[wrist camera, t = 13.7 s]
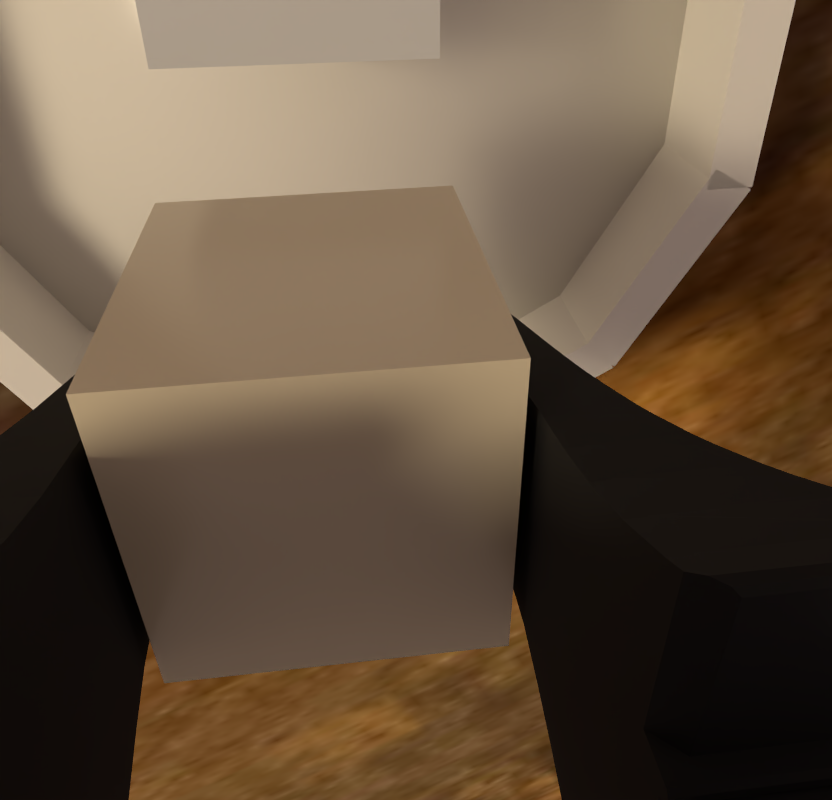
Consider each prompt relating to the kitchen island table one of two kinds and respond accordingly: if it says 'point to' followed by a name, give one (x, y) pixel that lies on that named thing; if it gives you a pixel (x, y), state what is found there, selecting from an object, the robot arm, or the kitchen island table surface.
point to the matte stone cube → (286, 31)
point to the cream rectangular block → (309, 431)
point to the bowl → (390, 153)
